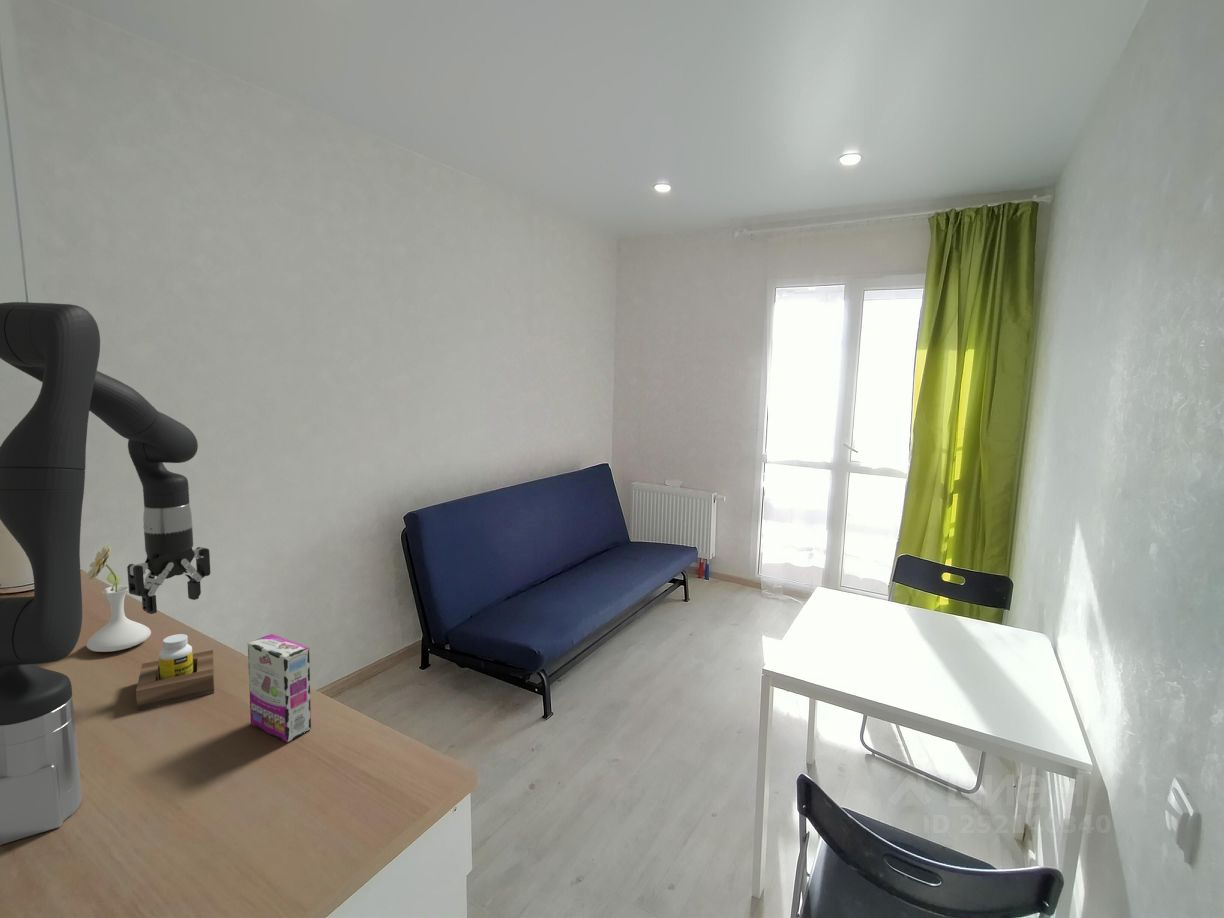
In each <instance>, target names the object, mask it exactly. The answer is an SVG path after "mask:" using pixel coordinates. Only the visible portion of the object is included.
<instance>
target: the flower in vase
mask: <svg viewBox="0 0 1224 918" xmlns="http://www.w3.org/2000/svg"><path fill="white" fill-rule="evenodd" d="M111 548H112V547H110V545H108V546H107V547H106V545H104V546H103V547H102V549H101V551H97V552H96V556H95V558H94V561H92V562H91V563H90V564H89V568H90V569H89V570H88V572H87V573H86V575H85V576H86V577H87V581H89V580H90V581H91V580H95V578H96V577H98V576H99V574H100V573H101V572H102V570H103V569H104V568H105V567H107V569H108V570H109V571H110V573H108V575H107V577H106V581H107V582H109V584H112V585H111V586H109V587H105V588H103V589H102V590H101V591H100V592H101V594H103V595H104V596H105V597H106V598H107V600H108V603H109V605H110V620H109V621H108V622H107V623H106V624H105V625H104V626H103V627H101V628H100V629H98V631H96V632H95V633H93V635H91V637H90V638H89V639H88V640H87V642H86V648H87V649H88V650H90V651H92V652H99V653H101V652H102V653H108V652H117V651H121V650H122V651H123V650H126V649H130V648H133V647H134V646H137V645H139V644H142V643H144V642H145V641H147V639H149V638H150V636H151V634H152V631H151V629H150V628H149V627H148V626H146V625H144V624H143V623H140V622H137V621H135V620H131V619H129V618H127V617H126V614H125V605H124V603H125V598H126V594H127V592H129V585H128V584H127V585H126V584H120V583H121V582H122V578H121V577H120V576H119V575H117V574H116V573H115V572H114V570H113V569H112V568H111V566H110V565H109V564H108V563H107V562H108V561H109V559H110V556H111ZM119 584H120V585H119Z"/></svg>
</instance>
